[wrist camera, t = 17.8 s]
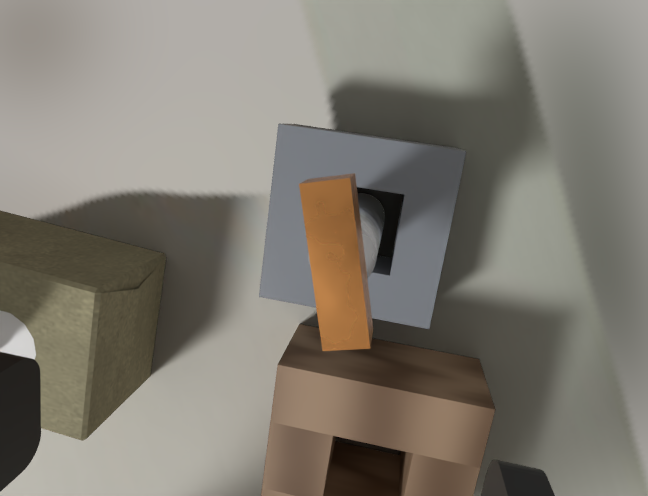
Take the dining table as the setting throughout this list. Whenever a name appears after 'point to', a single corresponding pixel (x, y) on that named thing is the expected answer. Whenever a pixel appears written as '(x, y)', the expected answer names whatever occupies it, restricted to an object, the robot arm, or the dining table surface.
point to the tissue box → (78, 317)
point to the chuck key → (341, 257)
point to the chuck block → (375, 421)
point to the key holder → (371, 173)
